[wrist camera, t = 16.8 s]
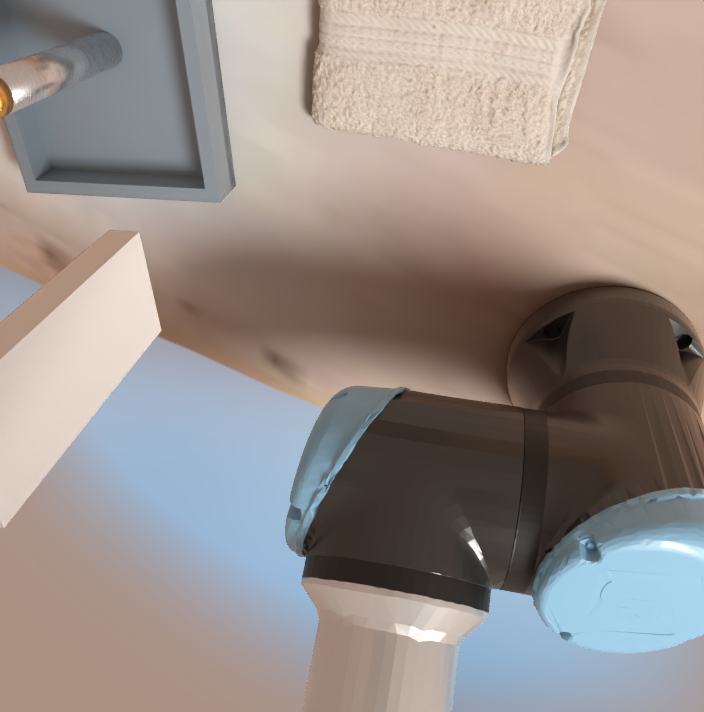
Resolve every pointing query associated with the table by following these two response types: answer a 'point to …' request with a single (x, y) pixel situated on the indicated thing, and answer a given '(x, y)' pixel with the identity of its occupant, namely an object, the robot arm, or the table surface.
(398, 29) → the washcloth
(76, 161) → the tray
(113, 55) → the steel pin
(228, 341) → the table surface
